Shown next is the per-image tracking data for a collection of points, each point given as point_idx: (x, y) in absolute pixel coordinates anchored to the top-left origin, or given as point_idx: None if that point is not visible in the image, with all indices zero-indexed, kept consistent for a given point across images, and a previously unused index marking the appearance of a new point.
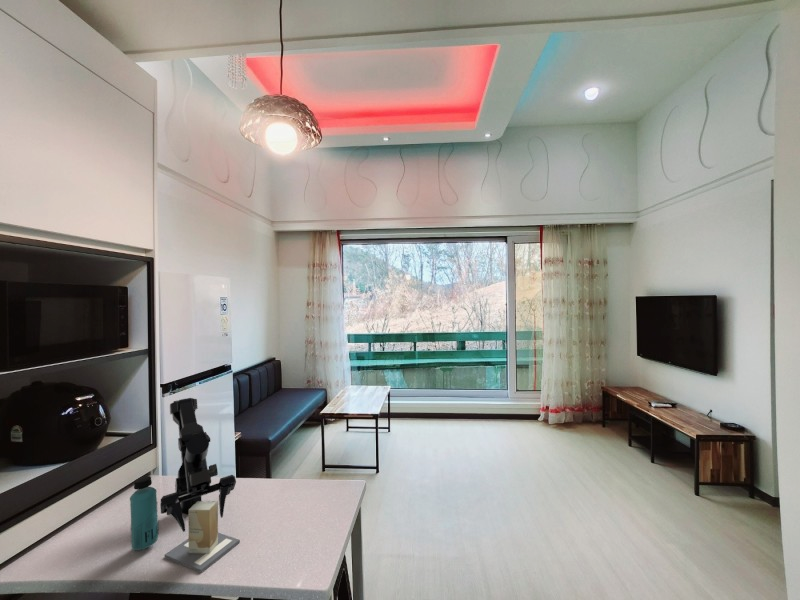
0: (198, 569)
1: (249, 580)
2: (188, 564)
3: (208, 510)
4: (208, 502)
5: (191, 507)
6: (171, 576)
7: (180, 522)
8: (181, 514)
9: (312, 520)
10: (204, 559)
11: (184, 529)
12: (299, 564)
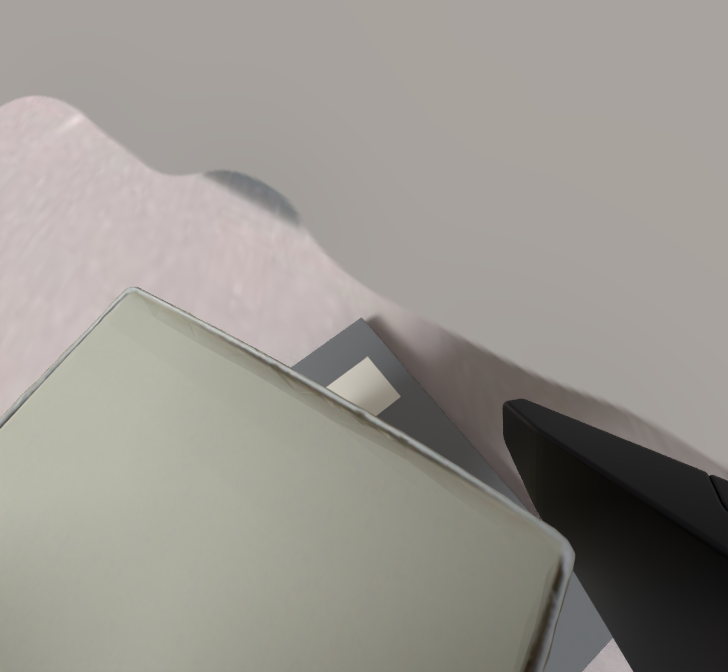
0: (375, 334)
1: (193, 195)
2: (429, 397)
3: (149, 294)
4: (24, 668)
5: (511, 652)
6: (506, 376)
7: (617, 437)
8: (706, 527)
9: None
10: (345, 393)
11: (513, 402)
12: (20, 189)
